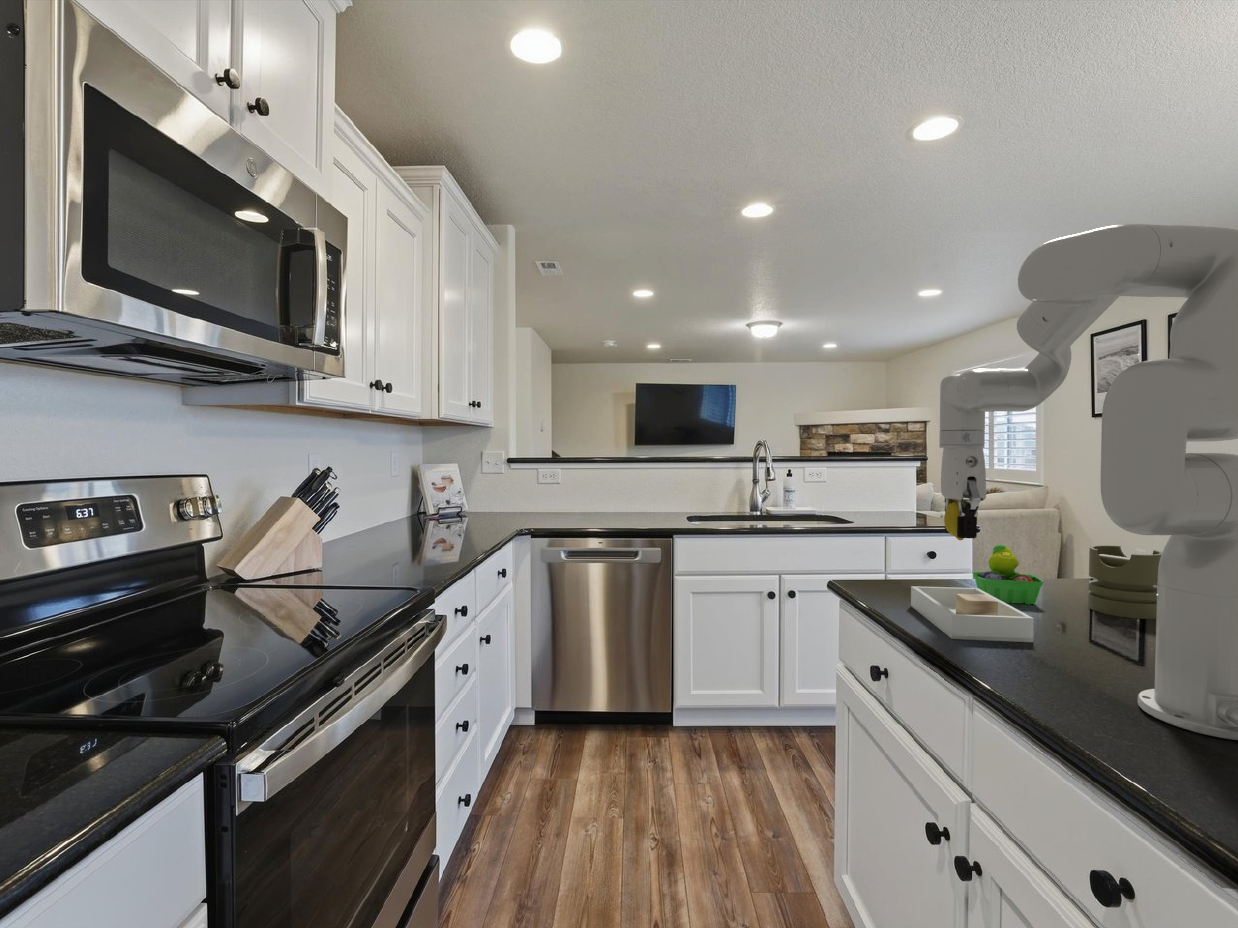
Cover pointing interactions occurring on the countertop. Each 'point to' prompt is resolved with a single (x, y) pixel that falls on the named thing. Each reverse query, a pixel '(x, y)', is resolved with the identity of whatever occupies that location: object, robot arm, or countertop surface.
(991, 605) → the cube
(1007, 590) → the fruit basket
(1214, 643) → the robot arm
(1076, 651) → the countertop surface
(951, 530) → the lemon
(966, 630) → the tray
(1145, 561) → the piston
